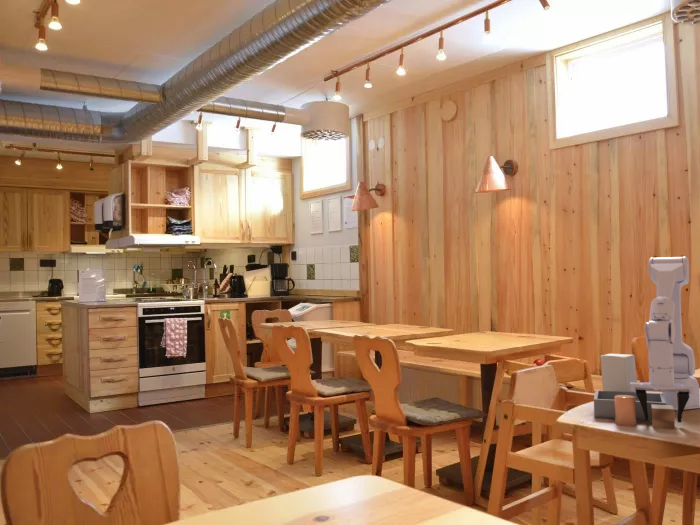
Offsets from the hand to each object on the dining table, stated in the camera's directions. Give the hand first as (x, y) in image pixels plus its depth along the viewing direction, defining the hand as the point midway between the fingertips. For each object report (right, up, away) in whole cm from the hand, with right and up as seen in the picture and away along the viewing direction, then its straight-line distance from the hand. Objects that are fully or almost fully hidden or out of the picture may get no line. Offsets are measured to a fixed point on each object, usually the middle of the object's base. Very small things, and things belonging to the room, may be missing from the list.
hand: (662, 420), depth 159 cm
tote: (-3, -2, +13) cm, 14 cm away
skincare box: (+1, -2, +27) cm, 27 cm away
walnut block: (0, -2, 0) cm, 2 cm away
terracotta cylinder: (-8, -2, +3) cm, 9 cm away
